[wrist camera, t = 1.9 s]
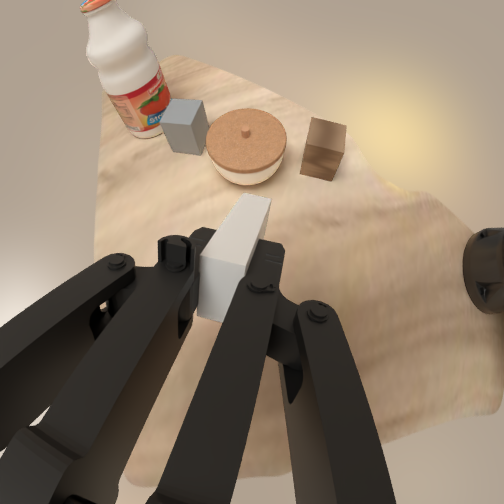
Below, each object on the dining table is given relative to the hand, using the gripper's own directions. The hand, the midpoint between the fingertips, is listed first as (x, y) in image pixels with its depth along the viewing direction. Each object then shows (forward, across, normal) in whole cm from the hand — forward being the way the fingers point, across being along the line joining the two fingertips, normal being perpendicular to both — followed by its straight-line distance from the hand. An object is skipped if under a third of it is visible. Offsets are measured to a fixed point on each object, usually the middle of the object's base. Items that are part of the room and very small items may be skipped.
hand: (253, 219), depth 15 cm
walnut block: (+31, +5, -2) cm, 32 cm away
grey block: (+31, -16, -2) cm, 35 cm away
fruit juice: (+34, -26, 0) cm, 43 cm away
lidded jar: (+29, -6, -5) cm, 30 cm away
